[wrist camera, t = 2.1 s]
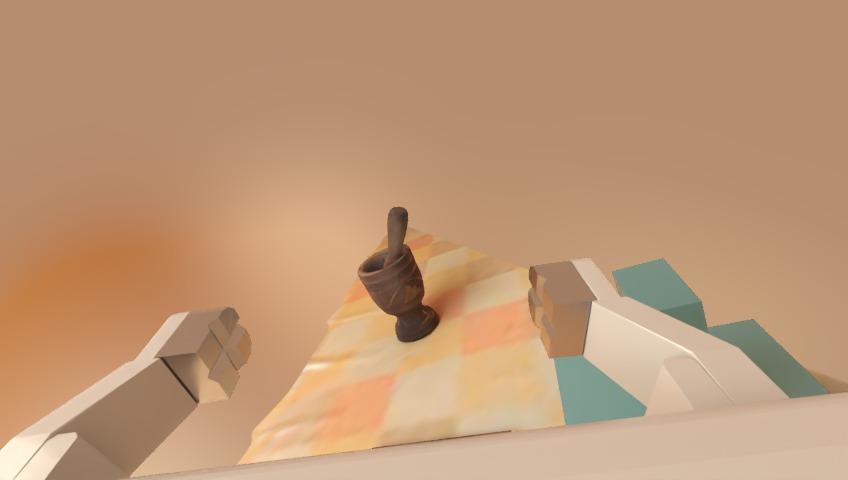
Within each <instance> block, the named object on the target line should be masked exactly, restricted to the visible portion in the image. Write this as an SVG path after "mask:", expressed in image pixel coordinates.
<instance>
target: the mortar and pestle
mask: <svg viewBox="0 0 848 480" xmlns="http://www.w3.org/2000/svg"><path fill="white" fill-rule="evenodd" d="M387 224H388V225H387V226H388V248H386V249H384V250H381V251H380V252H377V253H375V254H373V255H372V256H371V257H369V258H368V259H367V260H366V261H364V262H363V263H362V265H361V266H360V268H359V269H358V276H359V277H360V279H361V281H362V282H363V284H364V286H365V287H366V289H367V291H368V293H369V294H370V296H371V298H372V299H373V301H374V302H375V303H376V304H377V305H378V306H379V307H380V308H381V309H382V310H383V311H384V312H385V313H387V314H390V315H394V316H396V317H397V322H396V325H395V331H396V335H397V338H398V339H399V340H400V341H402V342H410V341H415V340H418V339H419V338H421V337H423V336H425V335H426V334H427V333H429V332H430V331H431V330H432V329H434V328H435V327H436V326H437V324H438V321H439V317H438V315H437V313H436V312H435V311H434V310H433V309H432V308H431V307H429V306H427V305H425V306H424V305H422V302H421V301H422V298H423V297H424V286H423V280H422V275H421V273H420V270H419V268H418V266H417V264H416V262H415V259H414V256H413V254H412V252H411V250H410V248H409V246H407V245H405V244H403V242H404V238H405V234H406V230H407V224H408V213H407V211H406V209H404V208H402V207H394V208H392V209H391V210H390V212H389V214H388V223H387Z"/></svg>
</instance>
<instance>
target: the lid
mask: <svg viewBox="0 0 848 480" xmlns="http://www.w3.org/2000/svg"><path fill="white" fill-rule="evenodd" d="M612 273H613V277H614V280H615V283H616V287H617V290H618V293H619V295H620V296H621V297H629V298H632V299H634V300H636V301H638V302H640V303H642V304H645V305H647V306H649V307H651V308H653V309H655V310H658V311H660V312H662V313H664V314H666V315H668V316H671V317H673V318H675V319H677V320H679V321H681V322H684V323H686V324H688V325H690V326H692V327H694V328H697V329H699V330H701V331H703V332H705V333H707V334H710V335H712V336H714V337H716V338H718V339H720V340H723V341H725V342H727V343H729V344H731V345H733V346H736V347H738V348H739V349H740V350H741V351H742V352H743V353H744V354H745V355H746V356H747V357H748V358H749V359H750V360H751V361H752V362H753V363H754V364H755V365H757V366H758V367H759V368H760V369H761V370H762V371H763V372H764V373H765V374H766V375H767V376H768V377H769V378H770V379H771V380H772V381H773V382H774V383H775V384H776V385H777V386H778V387H779V388H780V389H781V390H782V391H783V392H784V393H785V394H786V395H787V396H788V397H789V398H798V397H807V396H815V395H824V394H830V393H829V392H828V391H827V390H826V389H825V388H824V387H823V386H822V385H821V384H820V383H819V382H818V381H817V380H816V379H815V378H814V377H813V376H812V375H811V374H810V373H809V372H807V371H806V370H805V369H804V368H803V367H802V366H801V365H800V364H799V363H798V362H797V361H796V360H795V359H794V358H793V357H792V356H791V355H790V354H789V353H788V352H787V351H786V350H785V349H784V348H783V347H782V346H781V345H779V344H778V343H777V342H776V341H775V340H774V339H773V338H772V337H771V336H770V335H769V334H768V333H767V332H766V331H765V330H764V329H763V328H762V327H761V326H760V325H759V324H758V323H757V322H756V321H755V320H754V319H751V320H746V321H741V322H735V323H730V324H726V325H721V326H715V327H710V328H707V324H706V319H705V315H704V310H703V306H702V302H701V300H700V299H699V298H698V297H697V296H696V295H695V294H694V292H693V291H692V290H691V289H690V288H689V287H688V286H687V285H686V283H685V282H684V281H683V280H682V279H681V278H680V277H679V275H678V274H677V273H676V272H675V271H674V270H673V269H672V268H671V267H670V265H669V264H668V263H667V262H666V261H665V260H664V259H659V260H655V261H651V262H647V263H643V264H639V265H635V266H631V267H628V268H624V269H620V270H616V271H612ZM583 356H584V355H580V356H570V357H560V358H554V361H555V366H556V372H557V378H558V383H559V389H560V394H561V400H562V405H563V411H564V416H565V422H566V425H574V424H582V423H591V422H599V421H607V420H616V419H624V418H632V417H641V416H645V413H646V410H647V407H646V406H645V405H644V404H642V403H641V402H640V401H639V400H637V399H636V398H635V397H634V396H632V395H631V394H630V393H628V392H627V391H626V390H625V389H623V388H622V387H621V386H620V385H618V384H617V383H616V382H615V381H613V380H612V379H611V378H610V377H608V376H607V375H606V374H605V373H603V372H602V371H601V370H599V369H598V368H597V367H596V366H594V365H593V364H592V363H591V362H589V361H588V360H587V359H586V358H584V357H583Z"/></svg>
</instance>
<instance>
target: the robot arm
mask: <svg viewBox="0 0 848 480" xmlns="http://www.w3.org/2000/svg"><path fill="white" fill-rule="evenodd" d="M529 280H530V282H531V284H532V288H531V289H530V290H529V291H528V301H529V308H530V313H531V316H532V319H533V322H534V324H535V326H537V327H538V328H540V329H541V340H542V343H543V345H544V347H545V350H546V352H547V354H548V356H549V359H550V358H560V357H570V356H580V355H584V356H583V357H584V358H586V359H587V360H588V361H589V362H591V363H592V364H593V365H594V366H596V367H597V368H598V369H599V370H601V371H602V372H603V373H605V374H606V375H607V376H608V377H610V378H611V379H612V380H613V381H615V382H616V383H617V384H618V385H620V386H621V387H622V388H623V389H625V390H626V391H627V392H628V393H630V394H631V395H632V396H634V397H635V398H636V399H637V400H639V401H640V402H641V403H642V404H644V405H645V406H646V407H647V410H646V413H645V416H641V417H632V418H624V419H616V420H607V421H599V422H591V423H582V424H574V425H566V426H558V427H549V428H541V429H533V430H524V431H516V432H508V433H499V434H491V435H483V436H474V437H466V438H458V439H449V440H441V441H433V442H425V443H416V444H408V445H400V446H392V447H383V448H375V449H367V450H359V451H350V452H342V453H334V454H326V455H317V456H309V457H301V458H292V459H284V460H276V461H267V462H259V463H250V464H242V465H233V466H226V467H217V468H209V469H201V470H192V471H183V472H174V473H166V474H158V475H149V476H141V477H133V478H130V477H129V476H130V475H131V474H132V473H133V472H134V471H135V470H136V469H137V468H138V467H139V466H140V464H142V463H143V462H144V461H145V459H146V458H147V457H148V456H149V455H150V454H151V453H152V452H153V451H154V450H155V449H156V448H157V447H158V446H159V445H160V444H161V443H162V442H163V441H164V440H165V439H166V438H167V437H168V436H169V435H170V434H171V433H172V432H173V431H174V430H175V429H176V428H177V427H178V426H179V425H180V424H181V423H182V422H183V420H184V419H185V418H186V417H187V416H188V415H189V414H190V413H191V412H192V411H193V410H194V409H195V408H196V407H197V406H198V405H197V404H201V403H207V402H214V401H220V400H226V399H230V397H231V395H232V393H233V391H234V389H235V386H236V384H237V382H238V380H239V378H240V375H239V373H238V370H239V369H240V368H241V367H242V366H243V365H245V364H246V363H247V361H248V358H249V356H250V353H251V339H250V335H249V333H248V332H247V330H246V329H245V328H244V327H242V326H240V325H238V324H237V323H238V320H239V316H238V314H237V313H236V311H235V310H234V309H233V308H229V307H225V308H217V309H208V310H199V311H193V312H183V313H176V314H174V315H172V316H170V317H169V318H168V319H167V321H166V322H165V323H164V324H163V326H162V327H161V328H160V329H159V331H158V332H157V333H156V334H155V335H154V337H153V338H152V339H151V340H150V342H149V343H148V344H147V345H146V347H145V348H144V349H143V350H142V352H141V353H140V354H139V355H138V357H137V358H136V359H135V360H134V361H133V362H127V363H126V364H124V365H123V366H121V367H120V368H118V369H117V370H115V371H114V372H112V373H111V374H109V375H108V376H106V377H105V378H103V379H101V380H100V381H99V382H97V383H96V384H94V385H93V386H91V387H89V388H88V389H86V390H85V391H83V392H82V393H80V394H79V395H77V396H76V397H74V398H73V399H71V400H70V401H68V402H67V403H65V404H64V405H62V406H61V407H59V408H58V409H56V410H55V411H53V412H51V413H50V414H48V415H47V416H45V417H44V418H42V419H41V420H39V421H38V422H36V423H35V424H33V425H32V426H30V427H29V428H27V429H26V430H24V431H23V432H21V433H20V434H18V435H17V436H15V437H14V438H12V439H11V440H10V441H9V442H8V443H7V444H6V445H5V447H4V448H3V449H2V450H1V451H0V480H848V392H840V393H832V394H824V395H815V396H807V397H798V398H789V397H788V396H787V395H786V394H785V393H784V392H783V391H782V390H781V389H780V388H779V387H778V386H777V385H776V384H775V383H774V382H773V381H772V380H771V379H770V378H769V377H768V376H767V375H766V374H765V373H764V372H763V371H762V370H761V369H760V368H759V367H758V366H757V365H755V364H754V363H753V362H752V361H751V360H750V359H749V358H748V357H747V356H746V355H745V354H744V353H743V352H742V351H741V350H740V349H739V348H738V347H736V346H733V345H731V344H729V343H727V342H725V341H723V340H720V339H718V338H716V337H714V336H712V335H710V334H707V333H705V332H703V331H701V330H699V329H697V328H694V327H692V326H690V325H688V324H686V323H684V322H681V321H679V320H677V319H675V318H673V317H671V316H668V315H666V314H664V313H662V312H660V311H658V310H655V309H653V308H651V307H649V306H647V305H645V304H642V303H640V302H638V301H636V300H634V299H632V298H629V297H621V296H620V295H619V294H618V293H617V291H616V290H615V289H614V288H613V286H612V285H611V284H610V282H609V281H608V280H607V279H606V278H605V276H604V275H603V274H602V272H601V271H600V270H599V269H598V267H597V266H596V265H595V264H594V263H593V261H592V260H591V259H590V258H588V257H587V258H581V259H574V260H568V261H565V262H558V263H551V264H544V265H536V266H531V267H530V270H529Z"/></svg>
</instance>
